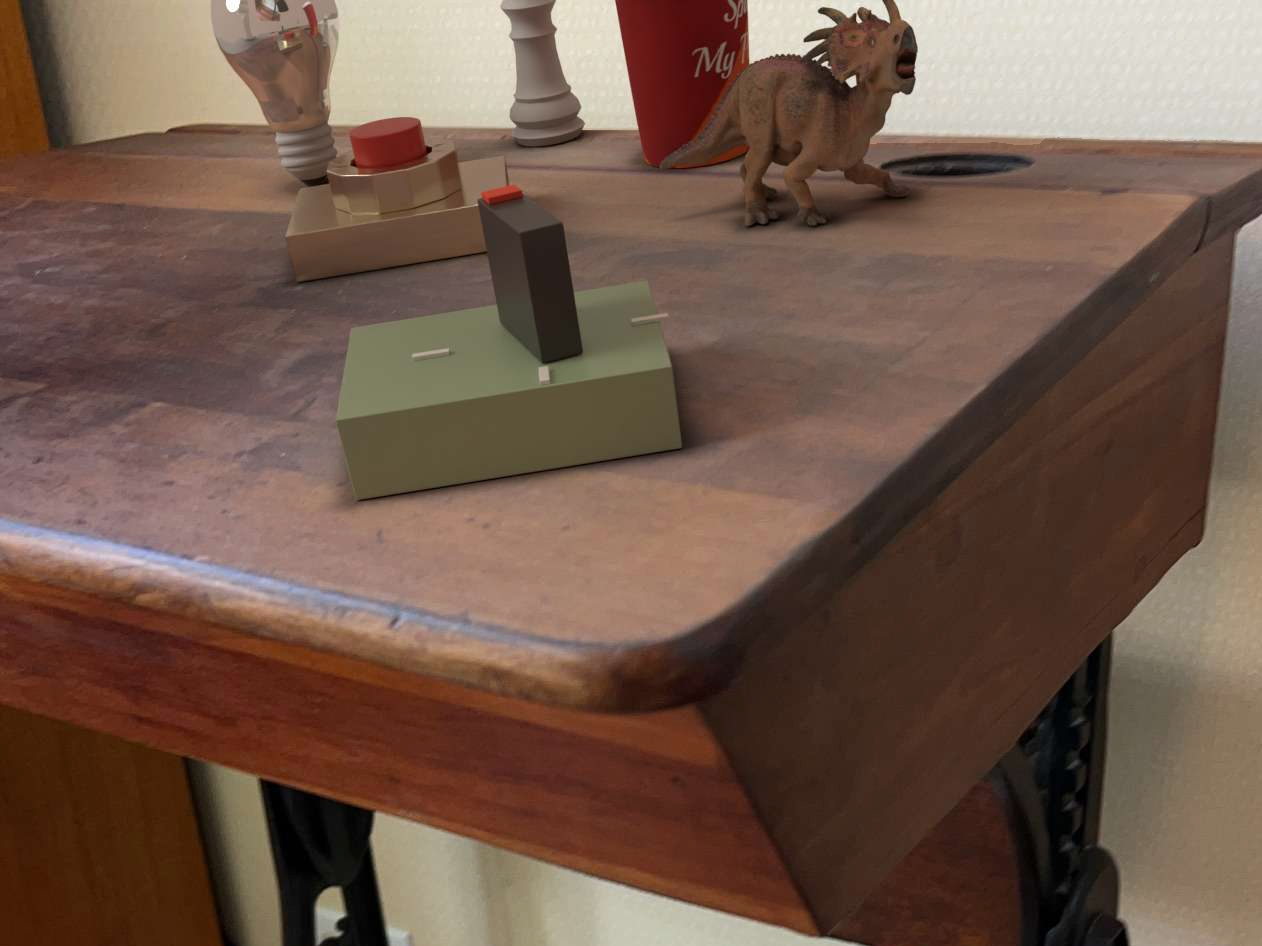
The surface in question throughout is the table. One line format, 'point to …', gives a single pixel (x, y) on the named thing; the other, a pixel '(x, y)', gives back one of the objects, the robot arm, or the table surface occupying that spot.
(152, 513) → the table surface
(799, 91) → the dinosaur figurine
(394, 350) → the control panel
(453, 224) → the button block
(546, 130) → the rook chess piece
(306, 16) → the light bulb
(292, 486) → the table surface
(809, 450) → the table surface
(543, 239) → the block
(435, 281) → the table surface
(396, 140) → the red button
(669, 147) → the coffee cup
